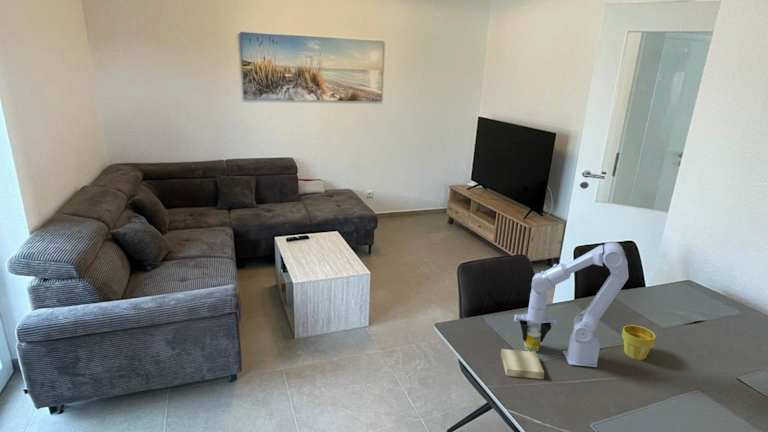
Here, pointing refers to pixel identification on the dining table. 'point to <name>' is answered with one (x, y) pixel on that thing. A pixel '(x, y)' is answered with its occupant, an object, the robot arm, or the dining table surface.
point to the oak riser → (522, 364)
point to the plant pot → (637, 341)
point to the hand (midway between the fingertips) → (532, 339)
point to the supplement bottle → (533, 337)
